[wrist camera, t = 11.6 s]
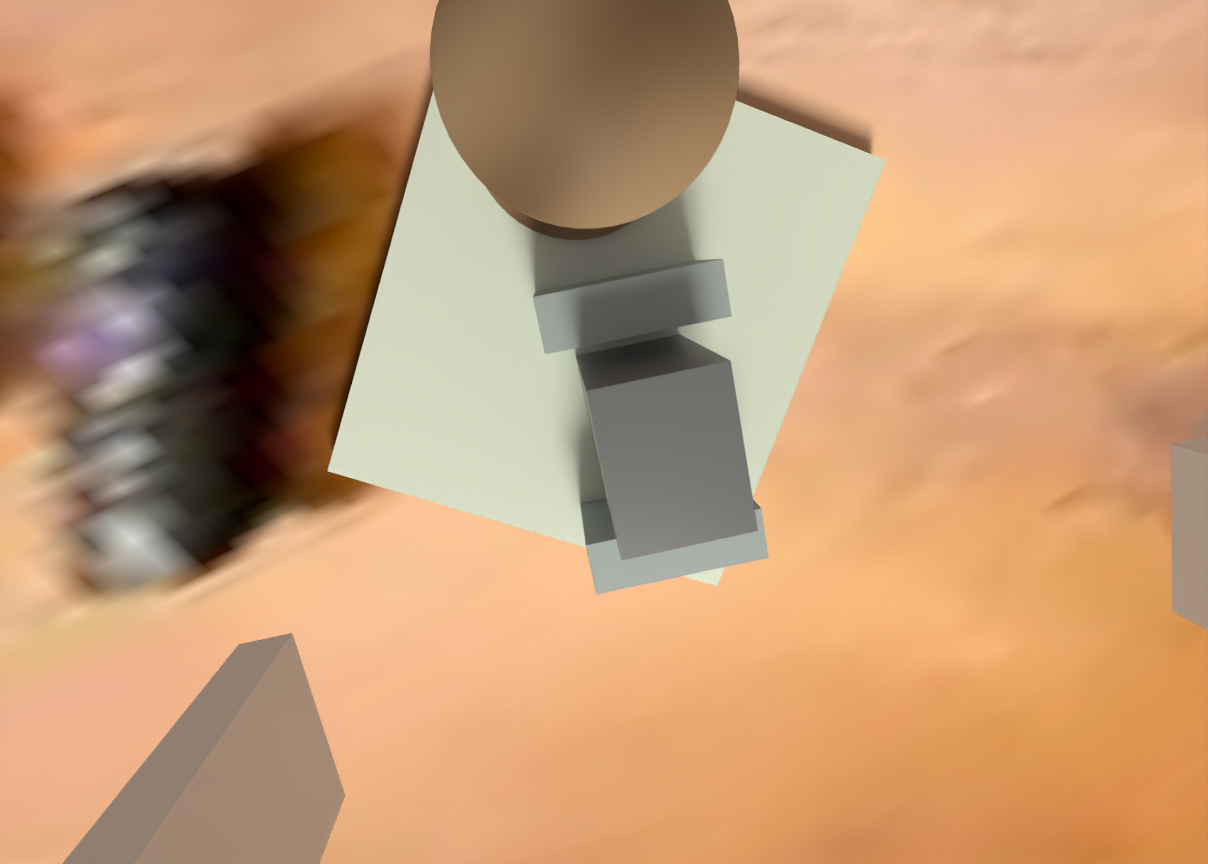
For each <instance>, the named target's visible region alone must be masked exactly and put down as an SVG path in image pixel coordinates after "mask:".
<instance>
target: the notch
mask: <svg viewBox="0 0 1208 864" xmlns="http://www.w3.org/2000/svg"><path fill="white" fill-rule="evenodd" d="M533 301H534V306H535V310H536V315H537V320H538V325H539V329H540V334H541V339H542V343H543V348H544V353H545V354H549V353H554V352H559V351H564V350H569V349H574V348H579V347H584V346H589V345H594V344H599V343H604V342H609V341H613V340H618V339H623V338H628V337H633V336H638V335H643V334H648V333H653V332H658V331H663V330H668V329H672V328H677V327H682V326H687V325H692V324H697V323H702V322H707V321H712V320H717V319H722V318H727V317H732V315H731V308H730V301H729V295H728V288H727V282H726V275H725V269H724V262H723V259H707V260H693V261H688V262H683V263H678V264H673V265H668V266H663V267H658V268H653V269H648V270H643V271H638V272H633V273H628V274H623V275H618V276H613V277H608V278H603V279H598V280H593V281H588V282H583V283H578V284H573V285H568V286H563V287H558V288H553V289H548V290H543V291H538V292H535V294H534V295H533ZM753 502H754V509H755V515H756V521H757V527H758V531H756V532H751V533H746V534H742V535H737V536H733V537H728V538H723V539H719V540H714V541H710V542H705V543H700V544H696V545H691V546H687V547H682V548H677V549H673V550H668V551H664V552H659V553H655V554H650V555H645V556H641V557H636V558H632V559H627V560H621V556H620V552H619V548H618V544H617V540H616V536H615V532H614V528H613V524H612V520H611V516H610V512H609V508H608V504H607V500H606V498H602V499H598V500H593V501H588V502H583V503H580V506H581V513H582V521H583V529H584V536H585V544H586V549H587V554H588V558H589V563H590V568H591V572H592V577H593V582H594V586H595V591H596V594H600V593H605V592H609V591H614V590H619V589H624V588H628V587H633V586H638V585H642V584H647V583H652V582H656V581H661V580H666V579H671V578H675V577H680V576H685V575H689V574H694V573H699V572H703V571H708V570H713V569H718V568H722V567H727V566H732V565H736V564H741V563H746V562H750V561H755V560H760V559H765V558H769V557H768V551H767V544H766V538H765V531H764V525H763V518H762V511H761V508H760V507H759V506H758V504H757V503H756V502H755V501H754V500H753Z"/></svg>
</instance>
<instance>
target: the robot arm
mask: <svg viewBox="0 0 1208 864" xmlns="http://www.w3.org/2000/svg"><path fill="white" fill-rule="evenodd" d="M1171 524H1172V605H1173V612H1175V613H1177V614H1179V615H1180V616H1182V617H1184V618H1186V619H1188V620H1189V621H1191V622H1193V623H1195V624H1197V625H1198V626H1200V627H1202V628H1204V629H1206V630H1207V631H1208V437H1203V438H1198V439H1194V440H1189V441H1184V442H1180V443H1175V444H1171ZM344 797H345V793H344V790H343V787H342V784H341V781H340V778H339V775H338V772H337V769H336V766H335V763H334V760H333V757H332V754H331V750H330V747H329V744H328V741H327V738H326V735H325V732H324V729H323V726H322V723H321V720H320V717H319V714H318V711H317V708H316V705H315V702H314V698H313V695H312V692H311V689H310V686H309V683H308V680H307V677H306V674H305V671H304V668H303V665H302V662H301V659H300V656H299V653H298V649H297V646H296V643H295V640H294V637H293V634H292V633H290V634H286V635H281V636H276V637H272V638H267V639H262V640H258V641H253V642H248V643H244V644H239V645H238V646H237V647H236V649H235V650H234V651H233V652H232V654H231V655H230V656H229V657H228V659H227V660H226V661H225V662H224V664H223V665H222V666H221V667H220V668H219V670H218V671H217V672H216V673H215V675H214V676H213V677H212V678H211V680H210V681H209V682H208V683H207V685H206V686H205V687H204V688H203V690H202V691H201V692H200V693H199V695H198V696H197V697H196V698H195V700H194V701H193V702H192V703H191V705H190V706H189V707H188V708H187V710H186V711H185V712H184V713H183V715H182V716H181V717H180V718H179V719H178V721H177V722H176V723H175V724H174V726H173V727H172V728H171V729H170V731H169V732H168V733H167V734H166V736H165V737H164V738H163V739H162V741H161V742H160V743H159V744H158V746H157V747H156V748H155V749H154V751H153V752H152V753H151V754H150V756H149V757H148V758H147V759H146V761H145V762H144V763H143V764H142V766H141V767H140V768H139V769H138V770H137V772H136V773H135V774H134V775H133V777H132V778H131V779H130V780H129V782H128V783H127V784H126V785H125V787H124V788H123V789H122V790H121V792H120V793H119V794H118V795H117V797H116V798H115V799H114V800H113V802H112V803H111V804H110V805H109V807H108V808H107V809H106V810H105V812H104V813H103V814H102V815H101V817H100V818H99V819H98V820H97V821H96V823H95V824H94V825H93V826H92V828H91V829H90V830H89V831H88V833H87V834H86V835H85V836H84V838H83V839H82V840H81V841H80V843H79V844H78V845H77V846H76V848H75V849H74V850H73V851H72V853H71V854H70V855H69V856H68V858H67V859H66V860H65V861H64V863H63V864H319V863H320V861H321V858H322V855H323V853H324V850H325V847H326V845H327V842H328V839H329V837H330V834H331V831H332V829H333V826H334V823H335V821H336V818H337V815H338V813H339V810H340V807H341V805H342V802H343V799H344Z"/></svg>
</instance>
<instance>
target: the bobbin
mask: <svg viewBox="0 0 1208 864" xmlns="http://www.w3.org/2000/svg"><path fill="white" fill-rule="evenodd" d="M430 63H431V78H432V84H433V90H434V96H435V99H436V103H437V106H438V110H439V113H440V116H441V119H442V121H443V124H444V126H445V128H446V131H447V133H448V135H449V138H450V139H451V141H452V143H453V145H454V146H455V148H456V150H457V151H458V153H459V155H460V156H461V158H462V159H463V160H464V162H465V163H466V164H467V166H468V167H469V168H470V170H471V171H472V172H473V173H474V175H475V176H476V177H477V178H478V179H479V180H480V181H481V182H482V183H483V184H484V185H485V186H486V188H487V190H488V191H489V193H490V194H491V195H492V196H493V198H494V199H495V200H496V202H497V203H498V204H499V205H500V206H501V207H502V208H503V209H504V210H505V211H506V212H507V213H508V214H509V215H510V216H511V217H513V218H514V219H515V220H516V221H518V222H519V223H521V224H522V225H524V226H526V227H527V228H529V229H531V230H533V231H535V232H538V233H540V234H542V235H546V236H549V237H553V238H558V239H565V240H586V239H593V238H597V237H601V236H605V235H608V234H610V233H612V232H615V231H617V230H619V229H621V228H623V227H625V226H626V225H628V224H630V223H631V222H633V221H634V220H636V219H639V218H641V217H643V216H646V215H648V214H650V213H652V212H654V211H655V210H657V209H659V208H660V207H662V206H664V205H665V204H667V203H669V202H670V201H671V200H673V199H674V198H675V197H677V196H678V195H679V194H680V193H682V192H683V191H684V190H685V189H686V188H687V187H688V186H689V185H690V184H691V183H692V182H693V181H694V180H695V179H696V178H697V177H698V176H699V175H700V173H701V172H702V171H703V170H704V168H705V167H706V166H707V164H708V163H709V162H710V160H711V159H712V157H713V155H714V154H715V152H716V150H717V148H718V147H719V145H720V143H721V141H722V139H723V136H724V134H725V132H726V129H727V127H728V125H729V122H730V118H731V115H732V111H733V108H734V105H735V100H736V94H737V87H738V80H739V49H738V38H737V33H736V28H735V23H734V18H733V14H732V11H731V8H730V5H729V2H728V0H439V2H438V5H437V7H436V12H435V17H434V22H433V26H432V33H431V46H430Z"/></svg>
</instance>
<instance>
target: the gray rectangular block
mask: <svg viewBox="0 0 1208 864" xmlns="http://www.w3.org/2000/svg"><path fill="white" fill-rule="evenodd" d="M576 360H577V365H578V370H579V374H580V379H581V384H582V389H583V393H584V398H585V403H586V408H587V412H588V417H589V422H590V427H591V431H592V436H593V441H594V446H595V450H596V455H597V460H598V465H599V469H600V474H601V479H602V483H603V487H604V491H605V495H606V500H607V504H608V508H609V512H610V516H611V520H612V524H613V528H614V532H615V536H616V540H617V544H618V548H619V552H620V556H621V560H627V559H632V558H636V557H641V556H645V555H650V554H655V553H659V552H664V551H668V550H673V549H677V548H682V547H687V546H691V545H696V544H700V543H705V542H710V541H714V540H719V539H723V538H728V537H733V536H737V535H742V534H746V533H751V532H756V531H758V527H757V521H756V515H755V509H754V502H753V496H752V490H751V484H750V478H749V471H748V465H747V459H746V453H745V447H744V440H743V434H742V428H741V422H740V415H739V409H738V403H737V397H736V391H735V384H734V378H733V372H732V366H731V361H730V360H729V359H727V358H725V357H723V356H721V355H719V354H717V353H715V352H713V351H711V350H709V349H707V348H705V347H703V346H702V345H700V344H698V343H696V342H694V341H692V340H690V339H688V338H686V337H684V336H682V335H680V334H678V335H673V336H668V337H663V338H659V339H654V340H649V341H644V342H640V343H635V344H630V345H625V346H621V347H616V348H611V349H606V350H602V351H597V352H592V353H587V354H582V355H578V356H576Z"/></svg>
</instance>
